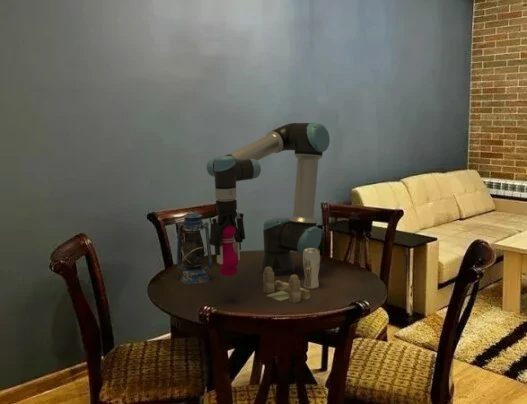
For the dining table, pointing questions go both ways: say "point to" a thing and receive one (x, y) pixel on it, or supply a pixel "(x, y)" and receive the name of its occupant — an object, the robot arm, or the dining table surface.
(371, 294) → the dining table surface
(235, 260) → the pepper mill
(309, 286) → the beer glass
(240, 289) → the dining table surface
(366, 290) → the dining table surface
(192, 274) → the lantern
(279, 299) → the wooden toy blocks
